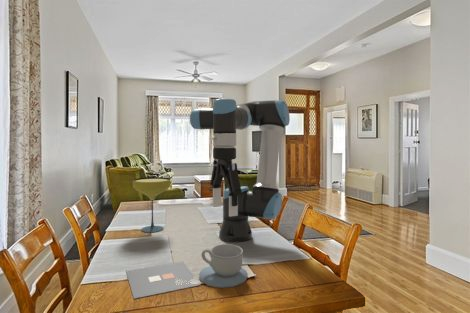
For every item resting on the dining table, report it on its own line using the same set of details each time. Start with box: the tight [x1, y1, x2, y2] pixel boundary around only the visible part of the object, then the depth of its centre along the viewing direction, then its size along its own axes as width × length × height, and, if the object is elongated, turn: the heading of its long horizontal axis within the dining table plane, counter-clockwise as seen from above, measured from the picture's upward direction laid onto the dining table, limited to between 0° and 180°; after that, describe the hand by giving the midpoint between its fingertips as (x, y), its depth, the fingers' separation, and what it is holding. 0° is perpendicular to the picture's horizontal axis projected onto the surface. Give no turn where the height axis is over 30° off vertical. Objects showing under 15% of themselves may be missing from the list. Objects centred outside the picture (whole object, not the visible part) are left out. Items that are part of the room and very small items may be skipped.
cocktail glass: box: [132, 176, 172, 234], centre depth 154 cm, size 18×18×25 cm
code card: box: [125, 261, 201, 300], centre depth 102 cm, size 20×20×1 cm
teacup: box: [201, 243, 244, 277], centre depth 105 cm, size 14×11×8 cm
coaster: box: [198, 265, 248, 289], centre depth 104 cm, size 16×16×1 cm
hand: (224, 211), depth 103 cm, fingers open, 13 cm apart
